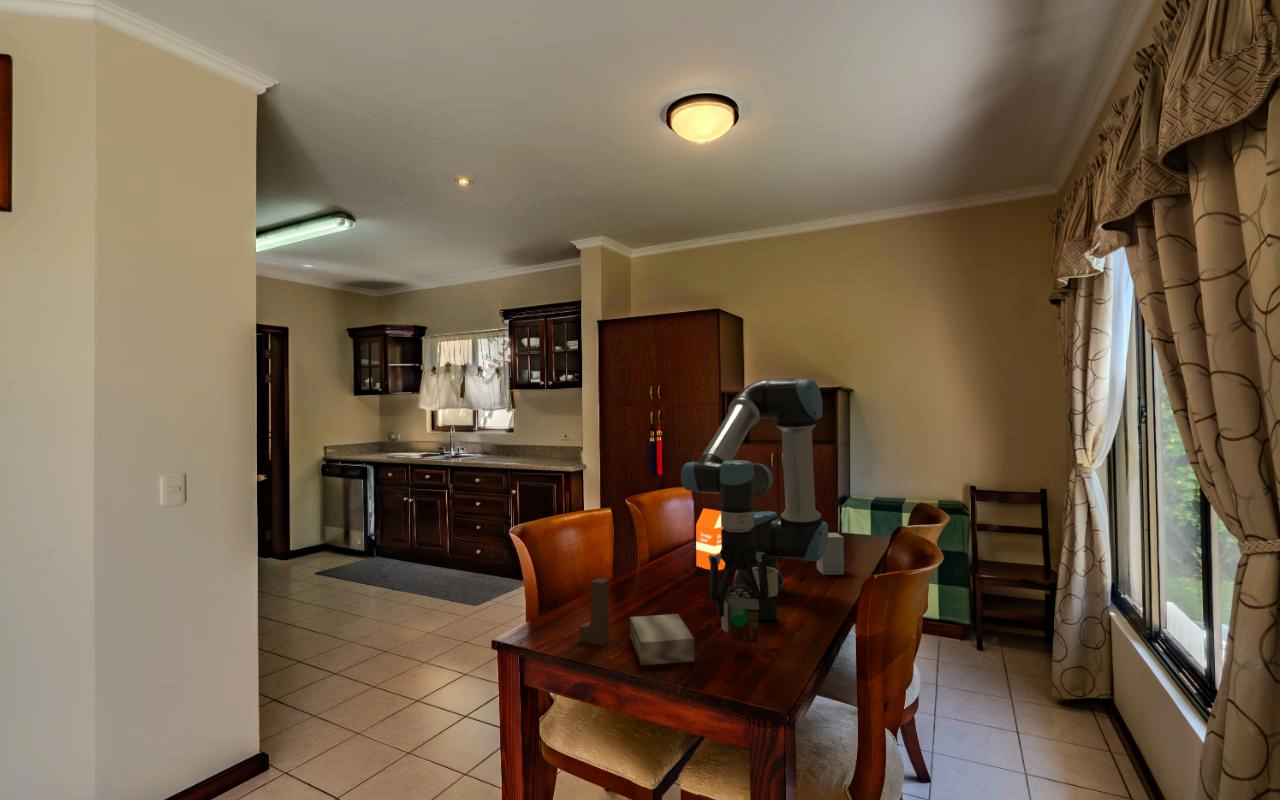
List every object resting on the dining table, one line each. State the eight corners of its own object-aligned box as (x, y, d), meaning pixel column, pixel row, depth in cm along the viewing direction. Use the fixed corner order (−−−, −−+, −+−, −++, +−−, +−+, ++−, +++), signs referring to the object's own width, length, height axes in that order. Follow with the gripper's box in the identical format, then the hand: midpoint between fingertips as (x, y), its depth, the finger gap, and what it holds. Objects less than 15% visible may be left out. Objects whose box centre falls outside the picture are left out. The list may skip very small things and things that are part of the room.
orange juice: (711, 562, 217) (710, 506, 217) (729, 567, 210) (729, 510, 210) (696, 566, 212) (695, 509, 212) (714, 571, 205) (713, 512, 205)
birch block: (678, 634, 150) (677, 613, 150) (694, 661, 134) (694, 638, 134) (630, 637, 148) (630, 617, 148) (641, 665, 132) (641, 642, 132)
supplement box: (844, 575, 200) (844, 537, 200) (822, 575, 200) (821, 537, 200) (837, 569, 207) (837, 532, 207) (816, 569, 207) (815, 532, 207)
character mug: (758, 610, 166) (757, 563, 166) (783, 614, 163) (783, 566, 163) (745, 623, 156) (744, 573, 157) (772, 628, 153) (771, 576, 153)
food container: (720, 625, 144) (719, 583, 144) (745, 624, 144) (744, 582, 144) (732, 646, 132) (731, 601, 131) (759, 645, 132) (759, 600, 132)
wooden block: (609, 641, 145) (608, 579, 145) (602, 646, 142) (602, 583, 142) (586, 637, 148) (585, 576, 148) (579, 641, 145) (578, 579, 145)
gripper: (701, 534, 132) (703, 638, 133) (783, 529, 136) (785, 631, 136) (692, 527, 140) (694, 625, 140) (771, 522, 143) (772, 619, 143)
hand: (739, 628), depth 138 cm, fingers closed on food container, 6 cm apart
